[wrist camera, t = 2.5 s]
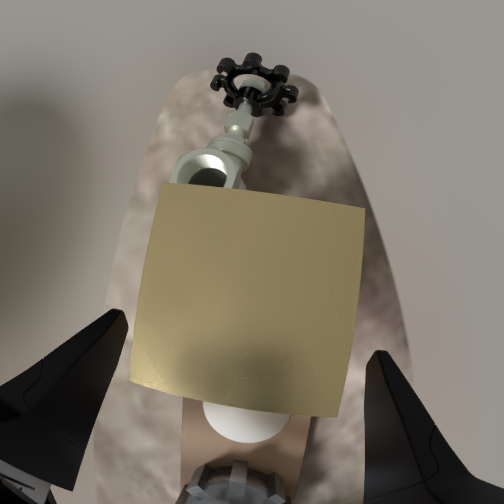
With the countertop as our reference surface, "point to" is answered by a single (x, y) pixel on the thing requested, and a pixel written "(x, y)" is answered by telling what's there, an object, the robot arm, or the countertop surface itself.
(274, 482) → the sun gear
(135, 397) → the countertop surface
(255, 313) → the gold tall block
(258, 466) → the carrier board
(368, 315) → the countertop surface
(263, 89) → the valve
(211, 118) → the countertop surface
